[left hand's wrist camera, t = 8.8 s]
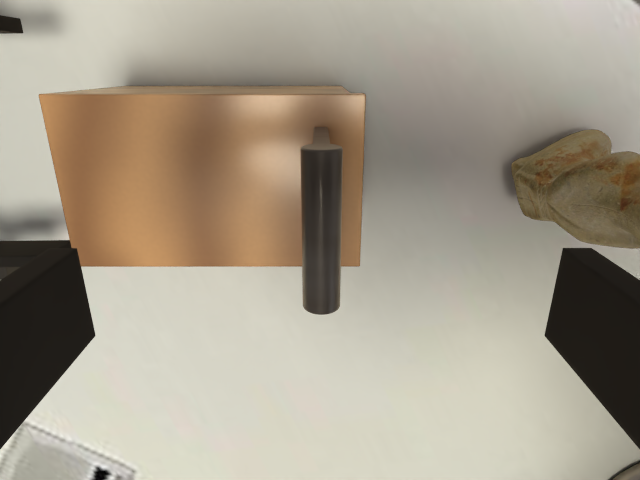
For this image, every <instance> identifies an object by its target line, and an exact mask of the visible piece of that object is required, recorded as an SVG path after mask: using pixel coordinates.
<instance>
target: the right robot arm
mask: <svg viewBox="0 0 640 480" xmlns="http://www.w3.org/2000/svg"><path fill="white" fill-rule="evenodd" d="M0 33H23V30H22V25H21V21H20V19H18V18H12V17H6V16H0ZM48 248H71V243H70V240H56V241H0V280H1V279H3V278H5V277H6V276H8V275H9V274H11V273H12V272H14V271H15V270H17V269H18V268H20V267H21V266H23V265H24V264H26V263H27V262H29V261H30V260H32V259H33V258H35V257H36V256H38V255H39V254H41V253H42V252H44V251H45V250H47V249H48Z"/></svg>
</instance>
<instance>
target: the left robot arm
mask: <svg viewBox="0 0 640 480" xmlns="http://www.w3.org/2000/svg"><path fill="white" fill-rule="evenodd" d="M94 337H95V331H94V327H93V322H92V317H91V312H90V308H89V303H88V298H87V293H86V289H85V284H84V279H83V274H82V270H81V265H80V260H79V255H78V251H77V248H48V249H47V250H45V251H44V252H42V253H41V254H39V255H38V256H36V257H35V258H33V259H32V260H30V261H29V262H27V263H26V264H24V265H23V266H21V267H20V268H18V269H17V270H15V271H14V272H12V273H11V274H9V275H8V276H6V277H5V278H3V279H2V280H0V449H1V448H2V446H3V445H4V444H5V443H6V442H7V441H8V439H9V438H10V437H11V436H12V435H13V433H14V432H15V431H16V430H17V429H18V427H19V426H20V425H21V424H22V423H23V421H24V420H25V419H26V418H27V417H28V415H29V414H30V413H31V412H32V411H33V409H34V408H35V407H36V406H37V405H38V403H39V402H40V401H41V400H42V399H43V398H44V396H45V395H46V394H47V393H48V392H49V390H50V389H51V388H52V387H53V386H54V384H55V383H56V382H57V381H58V380H59V378H60V377H61V376H62V375H63V374H64V372H65V371H66V370H67V369H68V368H69V366H70V365H71V364H72V363H73V362H74V361H75V359H76V358H77V357H78V356H79V355H80V353H81V352H82V351H83V350H84V349H85V347H86V346H87V345H88V344H89V343H90V341H91V340H92V339H93V338H94ZM545 337H546V338H547V339H548V340H549V341H550V343H551V344H552V345H553V346H554V347H555V349H556V350H557V351H558V352H559V353H560V355H561V356H562V357H563V358H564V359H565V361H566V362H567V363H568V364H569V365H570V366H571V368H572V369H573V370H574V371H575V372H576V374H577V375H578V376H579V377H580V378H581V380H582V381H583V382H584V383H585V384H586V386H587V387H588V388H589V389H590V390H591V392H592V393H593V394H594V395H595V396H596V398H597V399H598V400H599V401H600V402H601V404H602V405H603V406H604V407H605V408H606V409H607V411H608V412H609V413H610V414H611V415H612V417H613V418H614V419H615V420H616V421H617V423H618V424H619V425H620V426H621V427H622V429H623V430H624V431H625V432H626V433H627V435H628V436H629V437H630V438H631V439H632V441H633V442H634V443H635V444H636V445H637V446H638V448H639V449H640V280H638V279H637V278H635V277H634V276H632V275H631V274H629V273H628V272H626V271H625V270H623V269H622V268H620V267H619V266H617V265H616V264H614V263H613V262H611V261H610V260H608V259H607V258H605V257H604V256H602V255H601V254H599V253H598V252H596V251H595V250H593V249H592V248H563V251H562V255H561V260H560V265H559V270H558V274H557V279H556V284H555V289H554V293H553V298H552V303H551V308H550V312H549V317H548V322H547V327H546V331H545ZM613 480H640V463H638V464H636V465H634V466H632V467H630V468H628V469H627V470H625V471H623V472H622V473H620V474H619V475H618V476H616V477H615V478H614V479H613Z"/></svg>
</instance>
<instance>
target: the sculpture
mask: <svg viewBox="0 0 640 480" xmlns="http://www.w3.org/2000/svg"><path fill="white" fill-rule="evenodd" d="M511 169H512V176H513V179H514V183H515V188H516V193H517V198H518V202H519V205H520V207H521V210H522V212H523V214H524V215H525V216H527V217H530V218H532V219H536V220H542V221H553V222H556V223H557V224H558V225H559V226H560V227H562V228H563V229H564V230H566V231H567V232H568V233H570V234H571V235H572V236H574V237H575V238H577V239H578V240H580V241H582V242H586V243H590V244H597V245H604V246H611V247H621V248H640V155H639V154H637V153H634V152H618V153H613V154H611V141H610V139H609V137H608V136H607V135H606V134H604V133H603V132H601V131H599V130H584V131H580V132H576V133H574V134H571V135H569V136H567V137H564V138H562V139H560V140H559V141H557V142H555V143H553V144H551V145H549V146H547V147H546V148H544V149H543V150H541V151H539V152H537V153H535V154H533V155H530V156H528V157H525V158H524V157H522V158H519V159H517V160H515V161H514V162H513V163H512V165H511Z"/></svg>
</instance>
